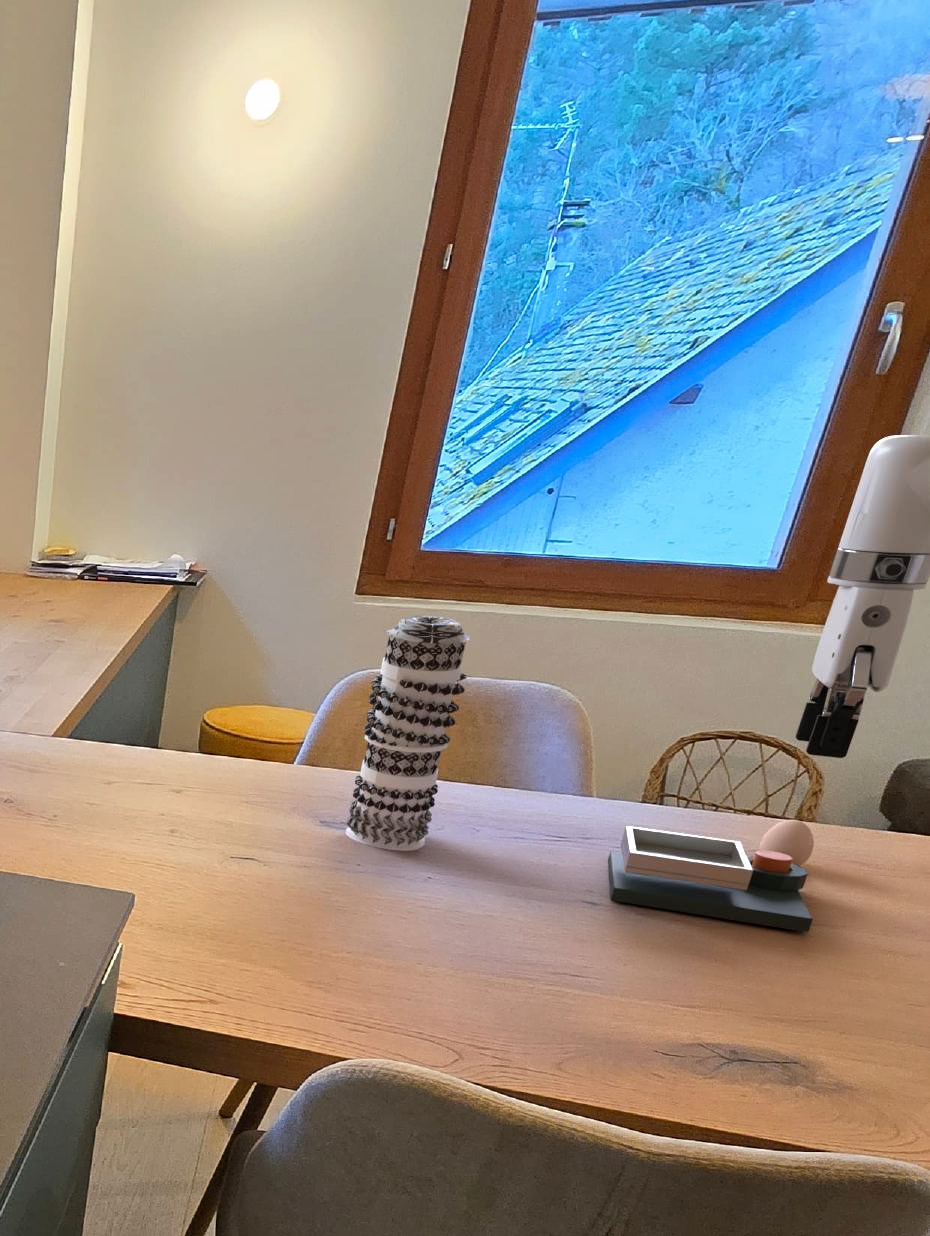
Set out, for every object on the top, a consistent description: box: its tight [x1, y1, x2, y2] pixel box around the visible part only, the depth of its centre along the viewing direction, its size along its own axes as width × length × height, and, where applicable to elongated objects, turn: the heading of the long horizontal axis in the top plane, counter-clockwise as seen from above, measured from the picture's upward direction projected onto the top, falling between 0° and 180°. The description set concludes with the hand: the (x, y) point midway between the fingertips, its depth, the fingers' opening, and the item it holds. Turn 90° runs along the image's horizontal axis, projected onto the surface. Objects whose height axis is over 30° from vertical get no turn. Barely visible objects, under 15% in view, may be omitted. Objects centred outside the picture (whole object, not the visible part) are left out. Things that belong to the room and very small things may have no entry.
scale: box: [607, 851, 814, 933], centre depth 122 cm, size 16×14×3 cm
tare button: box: [752, 850, 793, 872], centre depth 122 cm, size 3×3×2 cm
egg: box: [758, 819, 815, 867], centre depth 128 cm, size 4×4×6 cm
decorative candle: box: [345, 615, 471, 852], centre depth 132 cm, size 9×9×25 cm
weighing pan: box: [620, 825, 753, 890], centre depth 121 cm, size 10×10×2 cm
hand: (819, 746), depth 124 cm, fingers open, 6 cm apart
